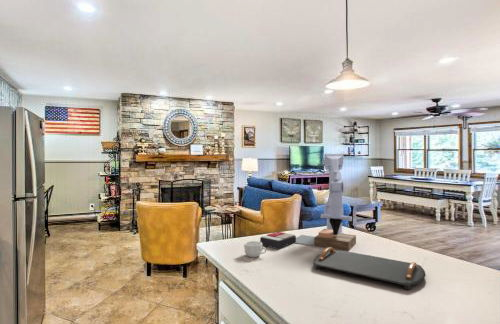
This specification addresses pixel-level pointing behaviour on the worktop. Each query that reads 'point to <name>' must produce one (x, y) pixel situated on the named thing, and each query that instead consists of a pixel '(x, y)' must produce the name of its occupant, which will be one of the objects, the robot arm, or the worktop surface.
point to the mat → (305, 240)
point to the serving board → (371, 267)
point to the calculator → (277, 240)
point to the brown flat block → (336, 241)
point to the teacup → (253, 248)
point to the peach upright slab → (326, 233)
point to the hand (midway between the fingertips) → (335, 234)
